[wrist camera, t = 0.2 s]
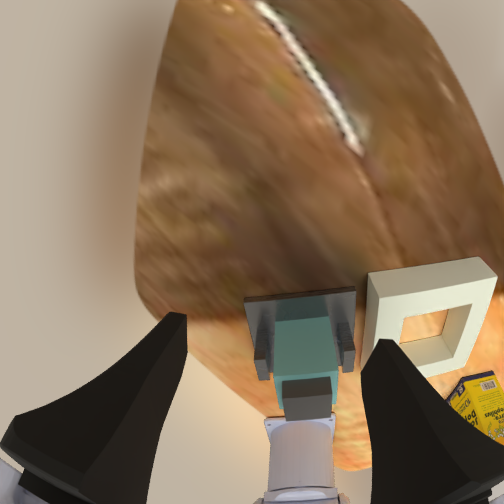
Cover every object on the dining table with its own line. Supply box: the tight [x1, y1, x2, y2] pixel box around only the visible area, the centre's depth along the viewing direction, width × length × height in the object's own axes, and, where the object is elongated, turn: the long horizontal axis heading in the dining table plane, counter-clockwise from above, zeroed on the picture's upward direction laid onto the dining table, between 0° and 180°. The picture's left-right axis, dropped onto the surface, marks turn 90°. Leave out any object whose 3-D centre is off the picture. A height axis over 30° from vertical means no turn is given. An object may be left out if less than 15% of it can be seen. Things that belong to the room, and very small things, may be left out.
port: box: [360, 256, 498, 378], centre depth 20 cm, size 10×10×3 cm
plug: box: [273, 316, 339, 422], centre depth 19 cm, size 4×4×7 cm
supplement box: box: [446, 371, 504, 445], centre depth 22 cm, size 6×6×11 cm
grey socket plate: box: [244, 286, 356, 380], centre depth 21 cm, size 8×8×4 cm
